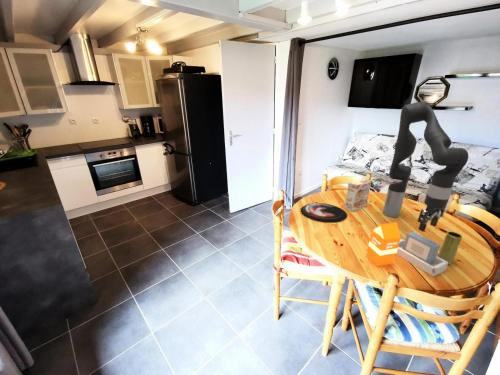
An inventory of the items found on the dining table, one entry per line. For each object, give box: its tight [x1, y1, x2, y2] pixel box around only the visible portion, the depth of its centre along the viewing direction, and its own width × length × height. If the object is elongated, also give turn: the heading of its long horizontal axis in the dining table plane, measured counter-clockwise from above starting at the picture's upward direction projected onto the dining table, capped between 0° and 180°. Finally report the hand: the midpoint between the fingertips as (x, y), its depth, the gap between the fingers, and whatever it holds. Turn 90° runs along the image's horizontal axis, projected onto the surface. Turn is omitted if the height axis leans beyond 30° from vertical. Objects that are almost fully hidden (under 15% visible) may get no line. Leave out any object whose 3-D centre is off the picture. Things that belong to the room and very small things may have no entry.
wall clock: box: [300, 202, 348, 223], centre depth 154 cm, size 26×5×30 cm
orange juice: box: [365, 221, 402, 267], centre depth 106 cm, size 8×9×20 cm
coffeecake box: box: [343, 178, 372, 213], centre depth 157 cm, size 15×7×20 cm, turn 120°
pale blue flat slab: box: [403, 231, 441, 265], centre depth 107 cm, size 4×12×10 cm, turn 25°
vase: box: [437, 231, 463, 265], centre depth 107 cm, size 6×6×14 cm
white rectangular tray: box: [396, 238, 449, 277], centre depth 109 cm, size 9×20×4 cm, turn 25°
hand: (427, 228), depth 103 cm, fingers open, 8 cm apart
